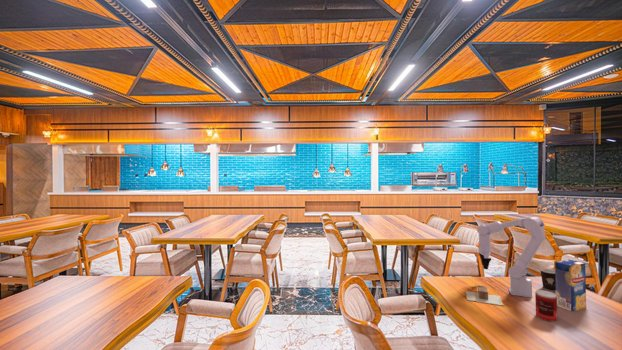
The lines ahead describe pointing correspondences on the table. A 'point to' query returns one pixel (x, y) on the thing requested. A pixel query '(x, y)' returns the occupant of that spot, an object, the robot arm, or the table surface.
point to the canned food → (546, 305)
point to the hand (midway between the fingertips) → (485, 267)
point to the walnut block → (482, 292)
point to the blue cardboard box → (570, 284)
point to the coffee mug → (548, 279)
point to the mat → (491, 299)
